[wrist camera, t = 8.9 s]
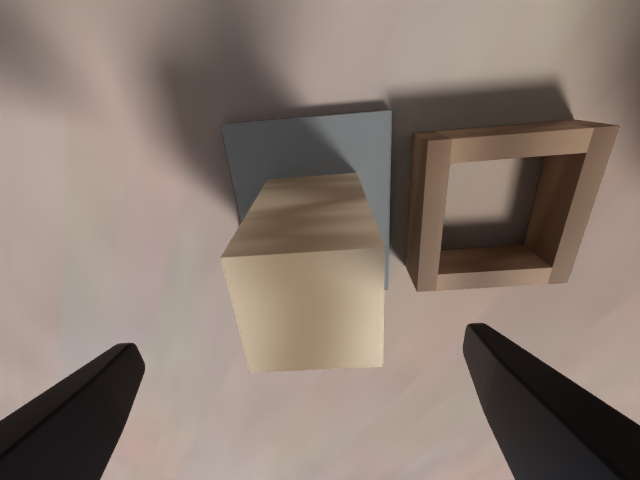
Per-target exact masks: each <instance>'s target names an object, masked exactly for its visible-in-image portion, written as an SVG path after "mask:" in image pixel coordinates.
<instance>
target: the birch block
mask: <svg viewBox="0 0 640 480" xmlns="http://www.w3.org/2000/svg"><path fill="white" fill-rule="evenodd" d="M221 262H222V266H223V270H224V274H225V278H226V282H227V286H228V290H229V294H230V297H231V301H232V305H233V309H234V313H235V317H236V321H237V325H238V329H239V333H240V337H241V341H242V344H243V348H244V352H245V356H246V360H247V364H248V368H249V372H250V373H253V372H275V371H296V370H318V369H339V368H360V367H382V366H383V339H384V282H385V246H384V243H383V240H382V238H381V235H380V233H379V230H378V227H377V225H376V222H375V219H374V217H373V214H372V212H371V209H370V206H369V204H368V201H367V198H366V196H365V193H364V191H363V188H362V185H361V183H360V180H359V177H358V175H357V173H344V174H330V175H317V176H303V177H290V178H277V179H267V181H266V183H265V184H264V186H263V188H262V189H261V191H260V193H259V194H258V196H257V198H256V199H255V201H254V203H253V204H252V206H251V208H250V209H249V211H248V213H247V214H246V216H245V218H244V219H243V221H242V223H241V224H240V226H239V228H238V229H237V231H236V233H235V234H234V236H233V238H232V239H231V241H230V243H229V244H228V246H227V248H226V249H225V251H224V253H223V254H222V256H221Z"/></svg>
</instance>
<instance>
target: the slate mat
mask: <svg viewBox="0 0 640 480" xmlns="http://www.w3.org/2000/svg"><path fill="white" fill-rule="evenodd" d="M221 130H222V134H223V139H224V144H225V149H226V153H227V158H228V163H229V168H230V172H231V177H232V182H233V187H234V191H235V196H236V201H237V206H238V210H239V215H240V220H241V223H242V221H243V219H244V218H245V216H246V214H247V213H248V211H249V209H250V208H251V206H252V204H253V203H254V201H255V199H256V198H257V196H258V194H259V193H260V191H261V189H262V188H263V186H264V184H265V183H266V181H267V179H277V178H290V177H303V176H317V175H330V174H344V173H357V175H358V177H359V180H360V183H361V185H362V188H363V191H364V193H365V196H366V198H367V201H368V204H369V206H370V209H371V212H372V214H373V217H374V219H375V222H376V225H377V227H378V230H379V233H380V235H381V238H382V240H383V243H384V246H385V282H384V290H388V269H389V224H390V179H391V134H392V110H378V111H367V112H355V113H343V114H331V115H320V116H308V117H296V118H284V119H273V120H261V121H249V122H237V123H226V124H222V125H221Z"/></svg>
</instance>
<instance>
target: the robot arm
mask: <svg viewBox="0 0 640 480" xmlns="http://www.w3.org/2000/svg"><path fill="white" fill-rule="evenodd" d="M463 354H464V357H465V360H466V363H467V366H468V369H469V372H470V374H471V377H472V380H473V383H474V386H475V389H476V392H477V395H478V397H479V400H480V403H481V406H482V408H483V411H484V414H485V416H486V418H487V421H488V423H489V425H490V427H491V429H492V431H493V434H494V436H495V438H496V440H497V442H498V444H499V446H500V448H501V451H502V453H503V455H504V457H505V459H506V461H507V463H508V466H509V468H510V470H511V472H512V474H513V476H514V478H515V480H640V425H638V424H637V423H635V422H634V421H632V420H631V419H629V418H628V417H626V416H625V415H623V414H622V413H620V412H619V411H617V410H616V409H614V408H613V407H611V406H609V405H608V404H606V403H605V402H603V401H602V400H600V399H599V398H597V397H596V396H594V395H593V394H591V393H590V392H588V391H587V390H585V389H584V388H582V387H581V386H579V385H578V384H576V383H575V382H573V381H572V380H570V379H568V378H567V377H565V376H564V375H562V374H561V373H559V372H558V371H556V370H555V369H553V368H552V367H550V366H549V365H547V364H546V363H544V362H543V361H541V360H540V359H538V358H537V357H535V356H534V355H532V354H531V353H529V352H528V351H526V350H524V349H523V348H521V347H520V346H518V345H517V344H515V343H514V342H512V341H511V340H509V339H508V338H506V337H505V336H503V335H502V334H500V333H499V332H497V331H496V330H494V329H493V328H491V327H490V326H488V325H486V324H484V323H472V324H468V325H467V327H466V331H465V337H464V342H463ZM144 372H145V363H144V361H143V359H142V357H141V354H140V352H139V350H138V348H137V346H136V345H135V344H134V343H120V344H117V345H115V346H113V347H112V348H110V349H109V350H107V351H106V352H104V353H103V354H101V355H100V356H98V357H97V358H95V359H94V360H92V361H91V362H89V363H87V364H86V365H84V366H83V367H81V368H80V369H78V370H77V371H75V372H74V373H72V374H71V375H69V376H68V377H66V378H65V379H63V380H62V381H60V382H59V383H57V384H56V385H54V386H53V387H51V388H50V389H48V390H46V391H45V392H43V393H42V394H40V395H39V396H37V397H36V398H34V399H33V400H31V401H30V402H28V403H27V404H25V405H24V406H22V407H21V408H19V409H18V410H16V411H15V412H13V413H12V414H10V415H9V416H7V417H5V418H4V419H2V420H1V421H0V480H100V479H101V477H102V474H103V472H104V470H105V468H106V466H107V464H108V462H109V460H110V457H111V455H112V453H113V451H114V449H115V447H116V445H117V443H118V440H119V438H120V436H121V434H122V431H123V429H124V427H125V424H126V422H127V419H128V416H129V414H130V411H131V408H132V405H133V403H134V400H135V397H136V394H137V392H138V389H139V386H140V383H141V381H142V378H143V375H144Z"/></svg>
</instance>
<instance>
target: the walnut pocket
mask: <svg viewBox="0 0 640 480" xmlns="http://www.w3.org/2000/svg"><path fill="white" fill-rule="evenodd" d="M618 129H619V125H611V124H604V123H596V122H589V121H581V120H565V121H552V122H540V123H528V124H515V125H503V126H491V127H479V128H466V129H454V130H442V131H429V132H417V133H413V136H412V155H411V175H410V194H409V214H408V233H407V253H406V268H407V271H408V273H409V275H410V277H411V279H412V282H413V284H414V286H415V288H416V290H417V292H420V291H437V290H454V289H471V288H488V287H506V286H523V285H540V284H557V283H568V280H569V277H570V274H571V271H572V268H573V265H574V262H575V259H576V256H577V253H578V250H579V247H580V244H581V241H582V238H583V235H584V232H585V229H586V226H587V223H588V220H589V217H590V214H591V211H592V208H593V205H594V202H595V198H596V195H597V192H598V189H599V186H600V183H601V180H602V177H603V174H604V171H605V168H606V165H607V162H608V159H609V156H610V153H611V150H612V147H613V144H614V141H615V138H616V135H617V132H618ZM536 156H545V159H544V163H543V167H542V171H541V175H540V179H539V184H538V188H537V192H536V196H535V200H534V204H533V208H532V213H531V217H530V221H529V225H528V229H527V233H526V237H525V242H524V245H513V246H497V247H482V248H466V249H451V250H441V241H442V232H443V222H444V213H445V203H446V194H447V185H448V175H449V166H450V163H458V162H471V161H484V160H497V159H510V158H523V157H536Z"/></svg>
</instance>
